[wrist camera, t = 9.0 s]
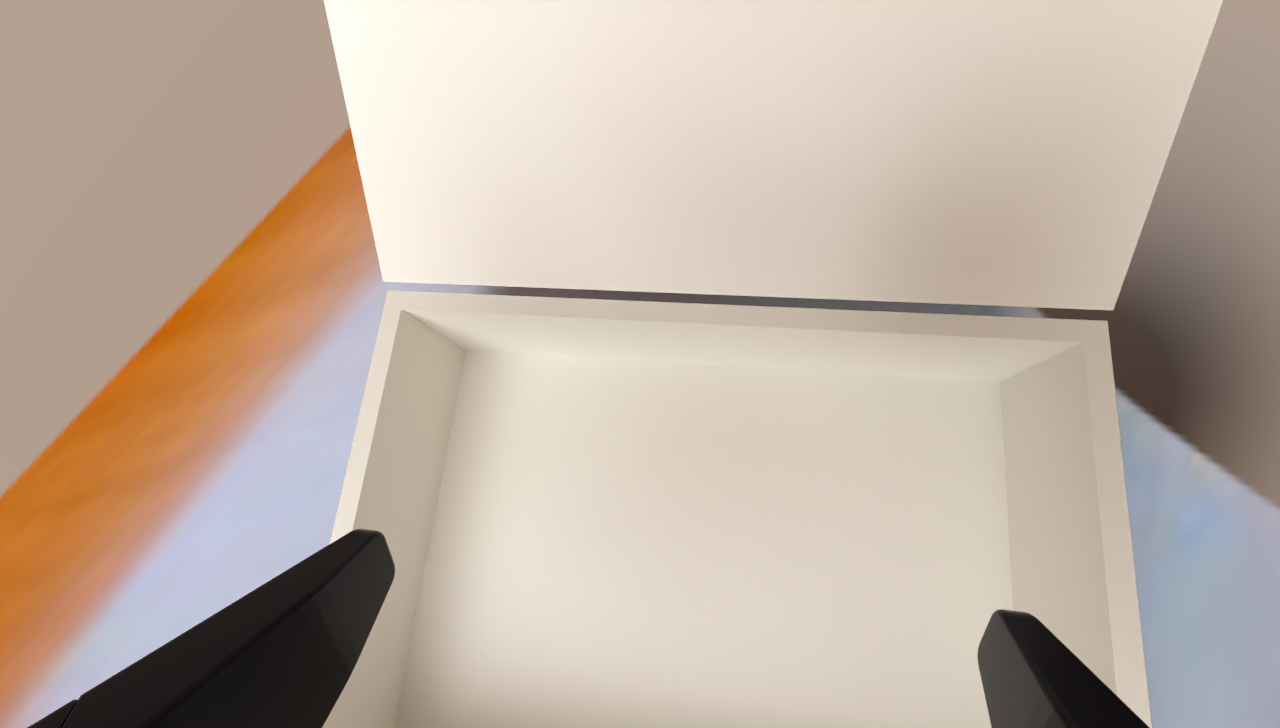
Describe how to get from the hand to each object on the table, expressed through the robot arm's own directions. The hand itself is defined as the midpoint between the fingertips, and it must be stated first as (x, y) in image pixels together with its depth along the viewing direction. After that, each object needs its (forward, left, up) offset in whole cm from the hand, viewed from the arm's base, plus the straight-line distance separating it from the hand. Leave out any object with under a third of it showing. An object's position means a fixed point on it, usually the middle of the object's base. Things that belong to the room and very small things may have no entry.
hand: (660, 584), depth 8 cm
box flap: (+6, -3, -6) cm, 9 cm away
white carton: (-1, 0, -11) cm, 11 cm away
